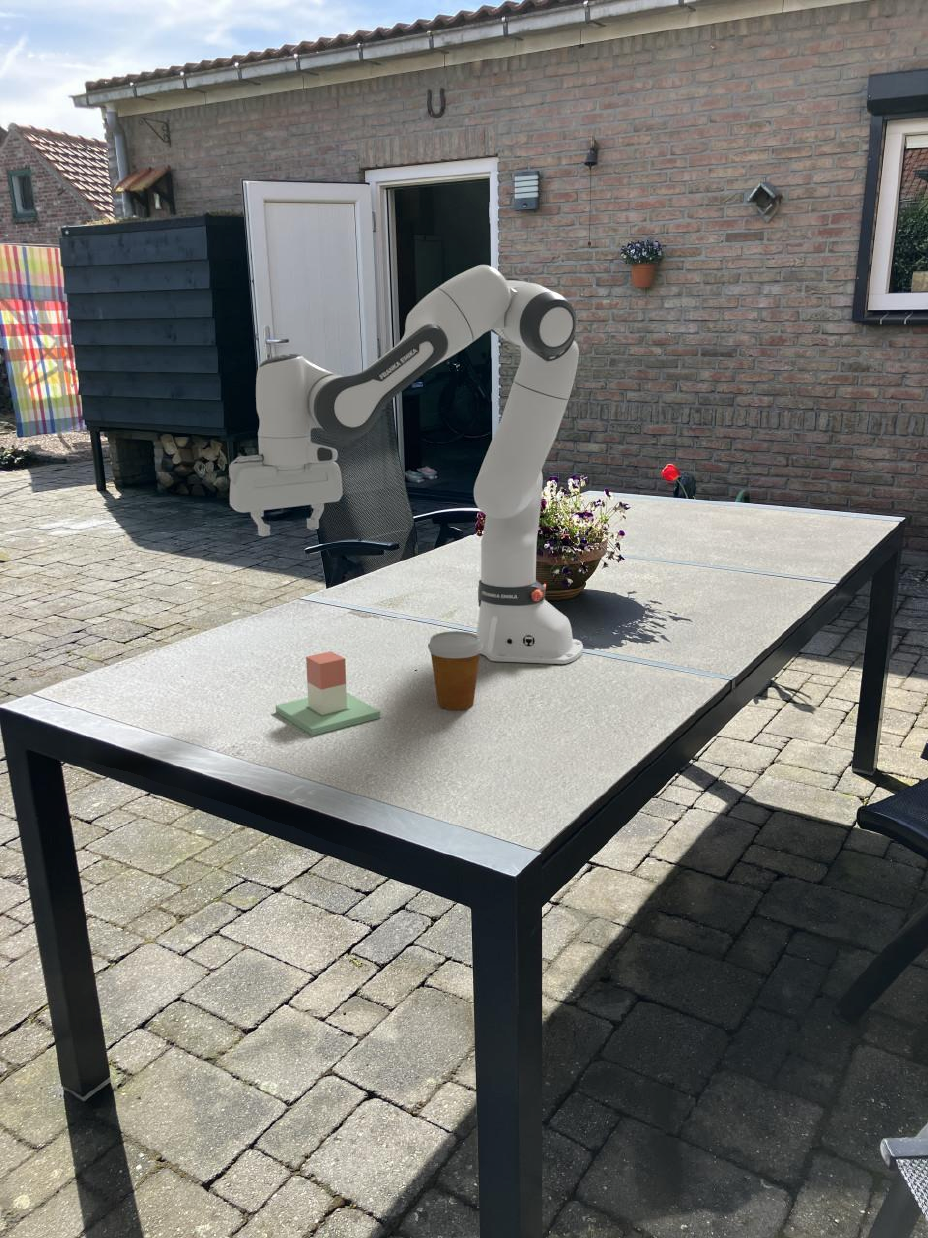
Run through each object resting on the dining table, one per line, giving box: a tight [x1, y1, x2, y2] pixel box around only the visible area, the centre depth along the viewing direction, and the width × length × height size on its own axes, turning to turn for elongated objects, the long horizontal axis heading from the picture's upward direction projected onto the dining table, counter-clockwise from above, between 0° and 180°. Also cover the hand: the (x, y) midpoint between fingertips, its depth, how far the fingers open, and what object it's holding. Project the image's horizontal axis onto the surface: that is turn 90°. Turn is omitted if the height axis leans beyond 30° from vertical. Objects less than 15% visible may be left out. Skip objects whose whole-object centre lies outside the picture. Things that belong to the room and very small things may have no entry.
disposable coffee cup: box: [427, 630, 483, 711], centre depth 179 cm, size 10×10×12 cm
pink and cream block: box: [305, 651, 348, 715], centre depth 174 cm, size 5×5×9 cm
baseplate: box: [275, 692, 381, 737], centre depth 175 cm, size 13×13×1 cm
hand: (289, 532), depth 179 cm, fingers open, 8 cm apart
